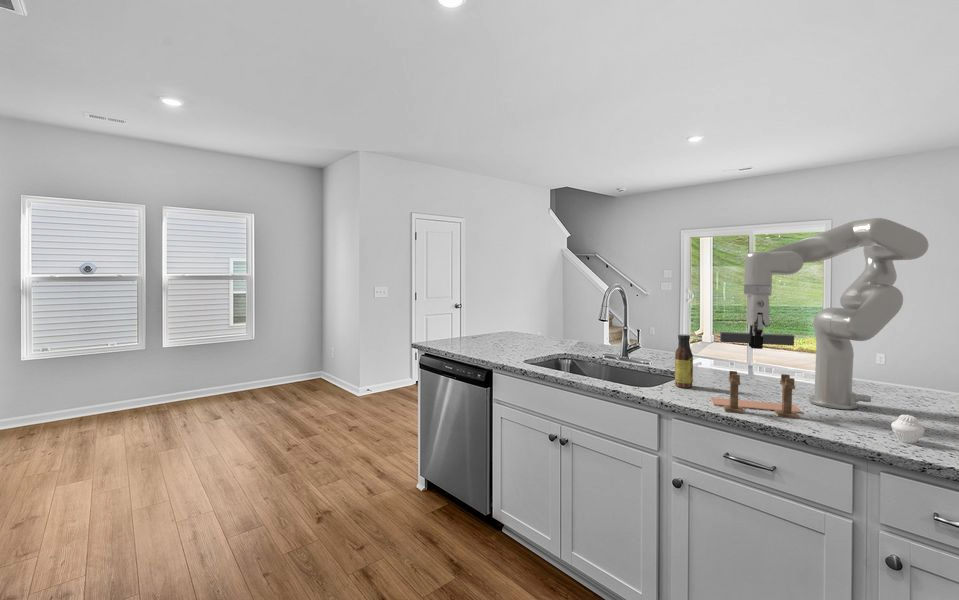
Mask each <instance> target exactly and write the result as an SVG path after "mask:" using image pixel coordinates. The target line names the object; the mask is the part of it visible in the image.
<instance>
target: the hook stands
mask: <svg viewBox="0 0 959 600" xmlns="http://www.w3.org/2000/svg"><path fill="white" fill-rule="evenodd" d="M728 375H729V376H728V381H729V399H730V406H729V405H724V406H723V410H724V412H725V413H726V412H727V413H733V412H734V414H735V413H736V414H745V409H744V408H742V407H740V406H738V400H739V386H741V381H740V380H741V378H740V377H741V375H740V374H738V371H737V370H729V374H728ZM780 375H781V376H780V381H779V383H780V385H781V386H782V389H781V390H782V398H781V404H782V410H775V411H774V413H775V414H777V415H778V416H777V415H776V416H777V417H778V418H785V417H788V418H787V419H796V418H797V419H799V414H798V413H795V411H791V410H792V405H793V401H792V400H793V390H796V385H795V381H796V380H795V378H791V375H790V374H787V373H784V374H783V373H782V374H780Z"/></svg>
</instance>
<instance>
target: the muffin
mask: <svg viewBox="0 0 959 600" xmlns="http://www.w3.org/2000/svg"><path fill="white" fill-rule="evenodd" d="M918 421H919V420H918V418H917V417H915V416H913V415H909V414H901V415H899V416H898V418H897V419H896V420H895V421H893V422H891V423H890V427H891V429H892V432H893V433H894V435H895V437H896V439H897V441H899V442H901V441H902V442H901V443H904V442H905V443H906V444H912V443H914V444H916V443H917V442H918V441H919V440H920V439H921V438H922V437H923V435H924V433H925V428H924V427H923V426H922V425H921V423H920V422H918ZM912 445H913V444H912Z"/></svg>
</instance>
